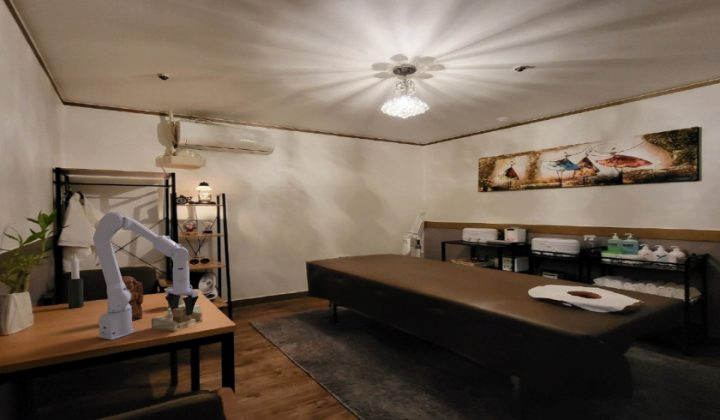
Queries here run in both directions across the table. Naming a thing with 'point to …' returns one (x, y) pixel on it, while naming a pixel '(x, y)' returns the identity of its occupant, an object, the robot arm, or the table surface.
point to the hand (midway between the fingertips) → (182, 314)
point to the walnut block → (180, 315)
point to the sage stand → (196, 307)
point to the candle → (75, 286)
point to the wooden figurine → (134, 296)
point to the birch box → (174, 322)
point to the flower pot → (179, 299)
